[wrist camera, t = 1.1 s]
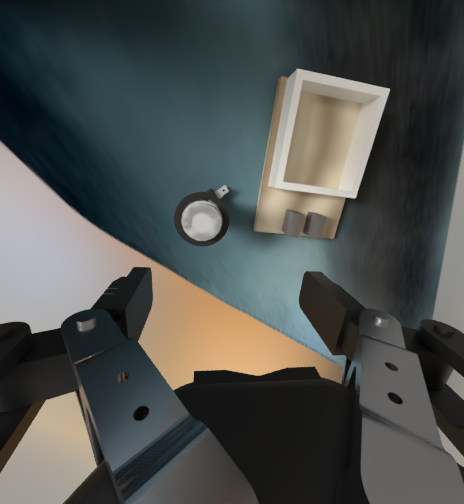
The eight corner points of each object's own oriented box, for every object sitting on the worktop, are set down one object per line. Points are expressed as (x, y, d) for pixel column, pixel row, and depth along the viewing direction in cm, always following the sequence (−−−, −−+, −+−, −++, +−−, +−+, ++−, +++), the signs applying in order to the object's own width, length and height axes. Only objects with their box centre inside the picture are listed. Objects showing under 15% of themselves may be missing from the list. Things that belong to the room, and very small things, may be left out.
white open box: (268, 186, 29) (274, 188, 26) (286, 79, 25) (297, 68, 22) (341, 195, 31) (355, 198, 28) (370, 97, 27) (390, 89, 24)
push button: (214, 170, 29) (219, 172, 19) (237, 204, 31) (252, 220, 21) (174, 201, 29) (160, 217, 20) (199, 232, 31) (197, 259, 22)
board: (253, 229, 32) (260, 237, 28) (278, 79, 26) (291, 64, 22) (329, 236, 34) (345, 245, 30) (369, 98, 28) (396, 88, 24)
